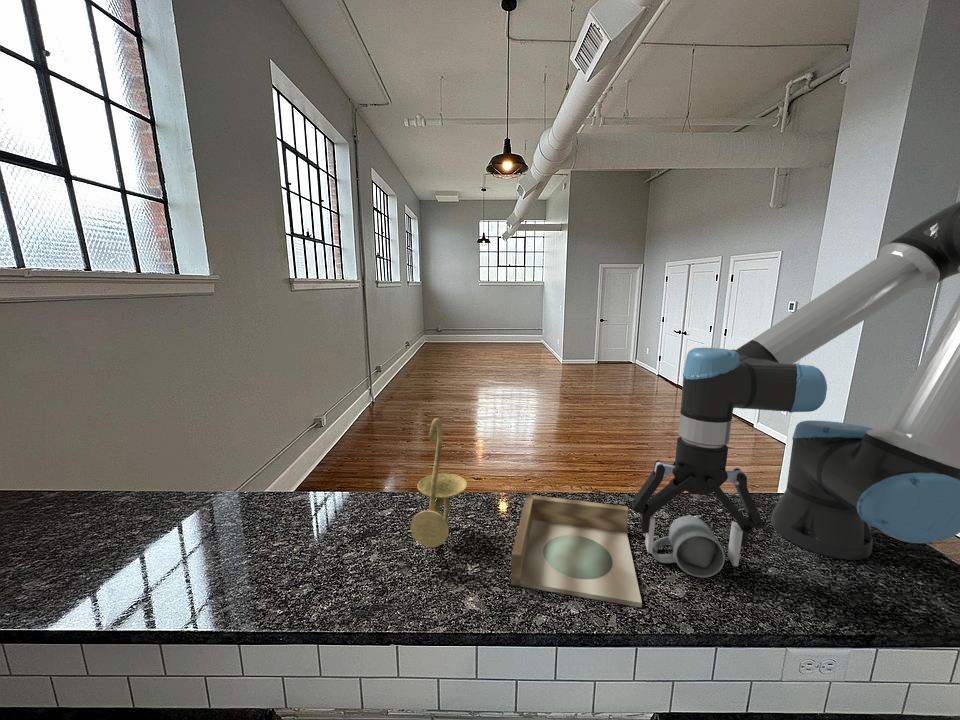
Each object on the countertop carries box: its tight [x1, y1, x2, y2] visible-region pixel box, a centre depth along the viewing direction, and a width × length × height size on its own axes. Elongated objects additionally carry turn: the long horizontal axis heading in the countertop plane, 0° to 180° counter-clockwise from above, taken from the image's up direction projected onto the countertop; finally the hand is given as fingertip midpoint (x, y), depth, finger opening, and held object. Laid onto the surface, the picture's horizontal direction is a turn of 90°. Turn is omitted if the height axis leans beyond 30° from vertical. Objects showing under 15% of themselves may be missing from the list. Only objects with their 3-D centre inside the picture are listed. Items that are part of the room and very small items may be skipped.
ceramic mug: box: [651, 515, 726, 579], centre depth 70 cm, size 11×8×8 cm
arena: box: [510, 493, 643, 608], centre depth 71 cm, size 20×20×6 cm
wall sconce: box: [410, 417, 468, 548], centre depth 74 cm, size 14×10×25 cm
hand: (689, 554), depth 70 cm, fingers open, 13 cm apart
